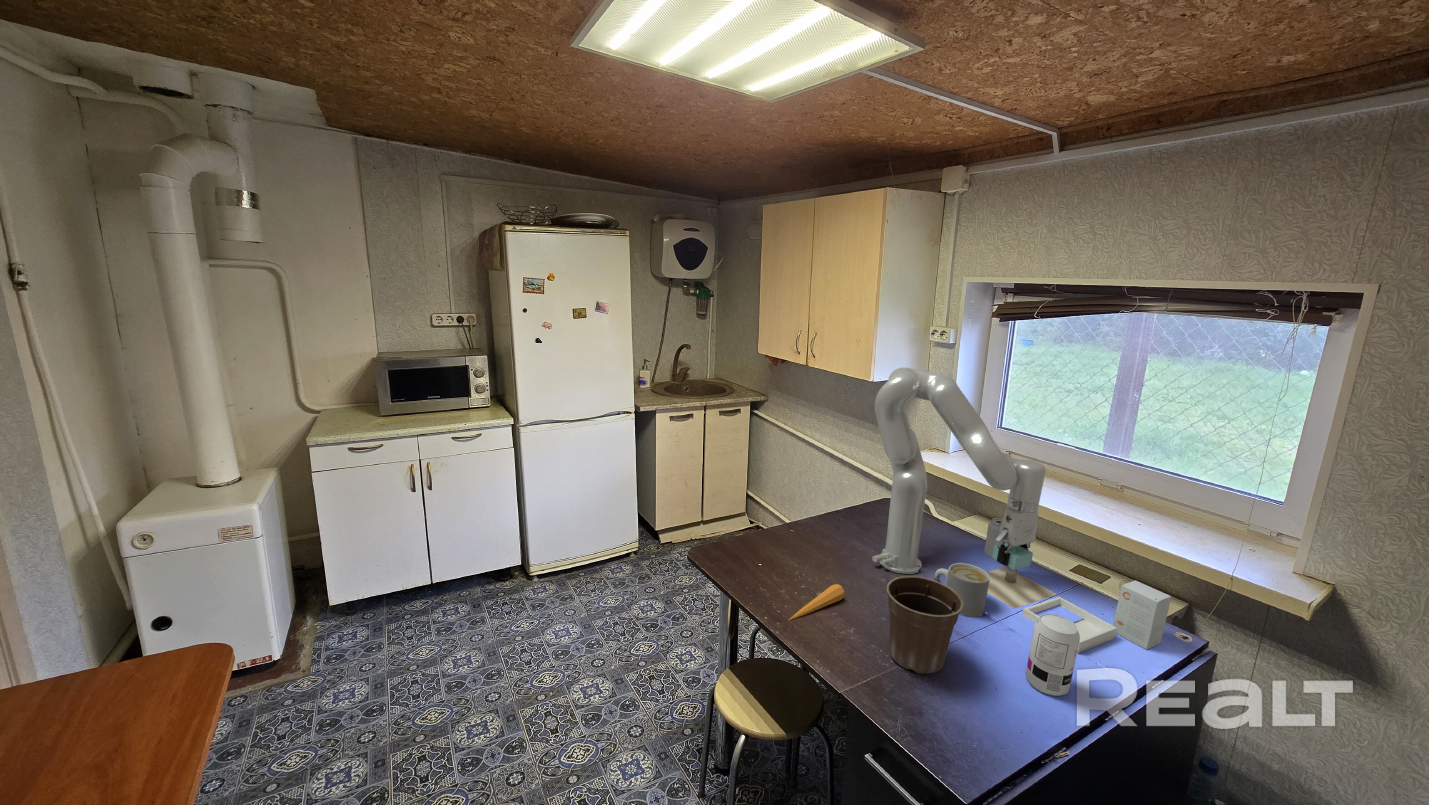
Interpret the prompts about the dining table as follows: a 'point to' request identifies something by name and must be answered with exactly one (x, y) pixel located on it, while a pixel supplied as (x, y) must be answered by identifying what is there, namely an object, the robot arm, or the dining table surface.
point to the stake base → (1015, 588)
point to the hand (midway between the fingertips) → (1011, 560)
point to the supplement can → (1052, 654)
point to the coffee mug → (967, 586)
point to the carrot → (822, 600)
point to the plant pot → (921, 622)
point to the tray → (1077, 623)
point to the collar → (1016, 556)
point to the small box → (1141, 614)
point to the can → (992, 535)
